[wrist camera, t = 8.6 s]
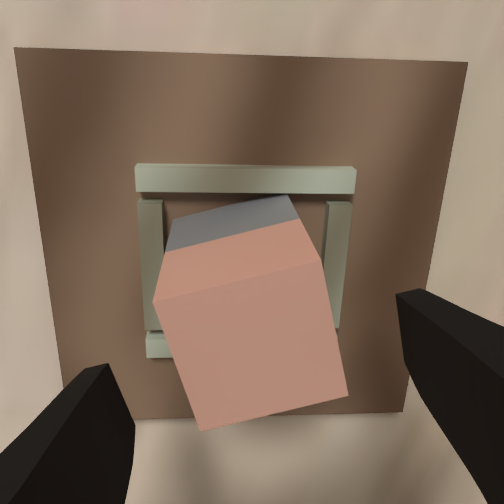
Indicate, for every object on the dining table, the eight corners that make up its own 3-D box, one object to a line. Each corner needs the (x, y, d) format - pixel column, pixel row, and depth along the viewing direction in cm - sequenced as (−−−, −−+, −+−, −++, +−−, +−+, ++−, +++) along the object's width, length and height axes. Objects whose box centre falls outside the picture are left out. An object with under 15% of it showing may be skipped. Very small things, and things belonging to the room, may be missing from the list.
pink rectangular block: (285, 190, 16) (321, 259, 11) (307, 290, 18) (348, 395, 13) (173, 219, 17) (152, 302, 11) (204, 316, 18) (200, 431, 13)
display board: (453, 61, 16) (477, 62, 15) (394, 396, 22) (407, 422, 20) (25, 47, 15) (5, 47, 14) (74, 404, 20) (64, 431, 19)
